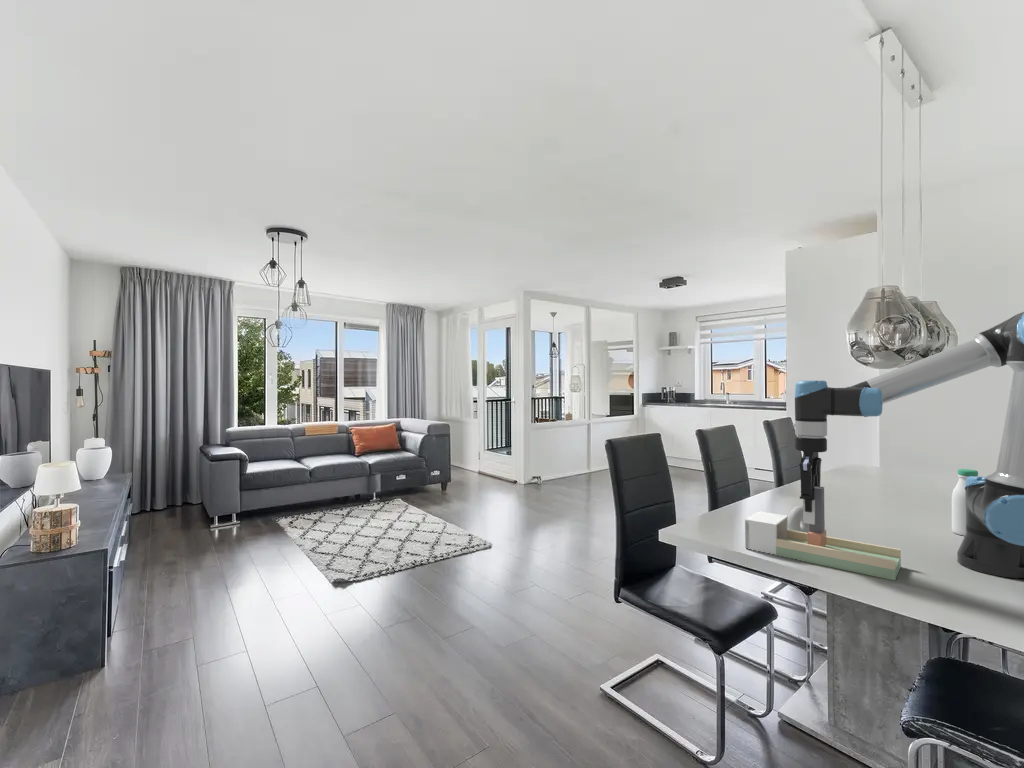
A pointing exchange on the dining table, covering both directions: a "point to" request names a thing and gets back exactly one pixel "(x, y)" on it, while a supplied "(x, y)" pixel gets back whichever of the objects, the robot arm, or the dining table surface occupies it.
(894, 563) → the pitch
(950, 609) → the dining table surface
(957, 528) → the milk bottle
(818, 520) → the striker
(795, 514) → the donut
